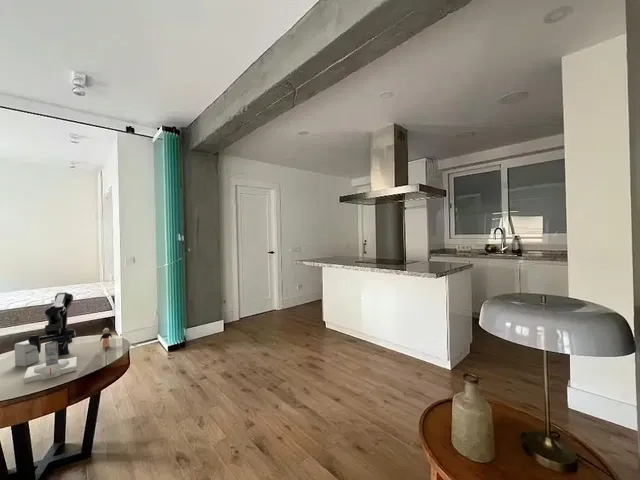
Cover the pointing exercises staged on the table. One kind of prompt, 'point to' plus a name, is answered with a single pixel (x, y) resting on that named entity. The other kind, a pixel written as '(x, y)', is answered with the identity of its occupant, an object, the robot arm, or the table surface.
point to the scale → (50, 370)
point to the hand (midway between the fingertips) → (50, 351)
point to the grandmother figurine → (106, 338)
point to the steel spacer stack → (51, 353)
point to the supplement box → (25, 354)
